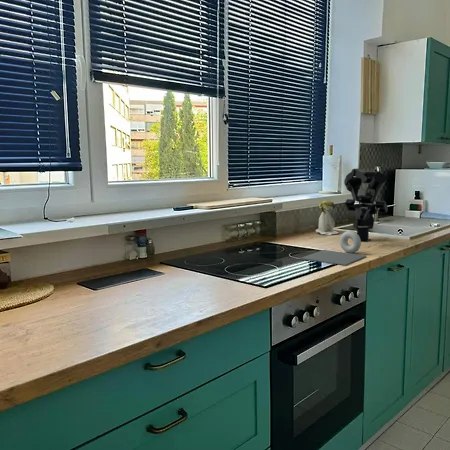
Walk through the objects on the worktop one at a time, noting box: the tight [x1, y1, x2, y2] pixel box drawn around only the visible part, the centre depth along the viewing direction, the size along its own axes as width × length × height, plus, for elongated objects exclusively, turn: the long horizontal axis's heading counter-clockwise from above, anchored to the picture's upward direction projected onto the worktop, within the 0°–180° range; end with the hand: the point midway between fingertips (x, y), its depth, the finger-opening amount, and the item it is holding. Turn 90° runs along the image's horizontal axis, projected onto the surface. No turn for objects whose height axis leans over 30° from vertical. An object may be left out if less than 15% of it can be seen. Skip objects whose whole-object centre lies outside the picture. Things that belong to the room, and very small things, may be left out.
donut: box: [339, 230, 362, 254], centre depth 198 cm, size 10×4×10 cm, turn 43°
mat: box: [300, 249, 367, 267], centre depth 189 cm, size 20×20×1 cm
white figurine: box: [315, 200, 340, 236], centre depth 247 cm, size 12×13×18 cm
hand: (360, 220), depth 203 cm, fingers open, 3 cm apart
